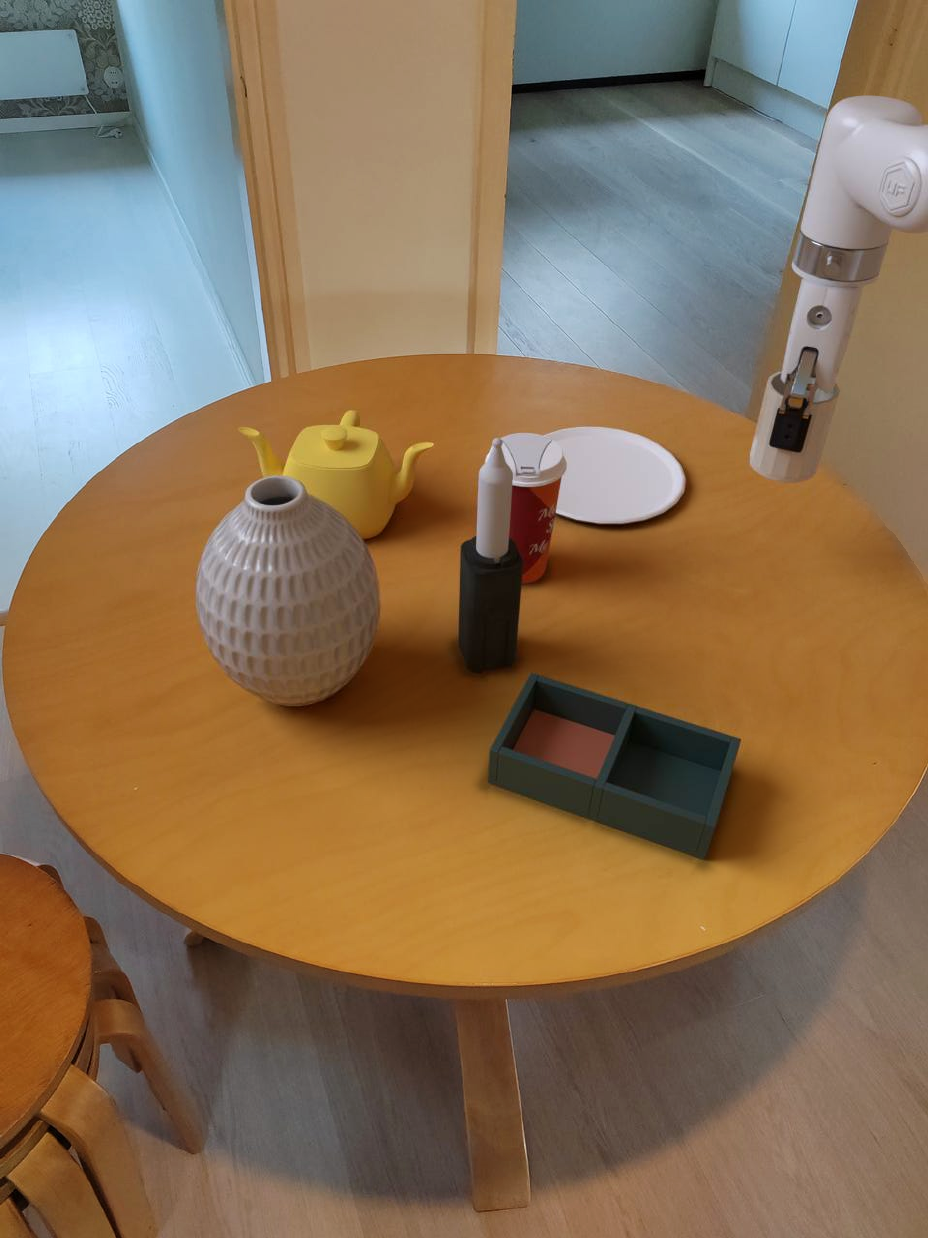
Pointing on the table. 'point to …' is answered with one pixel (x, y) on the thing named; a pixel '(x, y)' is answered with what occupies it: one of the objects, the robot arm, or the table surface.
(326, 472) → the teapot
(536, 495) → the coffee cup
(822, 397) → the cup
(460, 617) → the candle
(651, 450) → the plate
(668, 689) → the table surface
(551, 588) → the table surface
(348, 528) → the vase
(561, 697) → the organiser
